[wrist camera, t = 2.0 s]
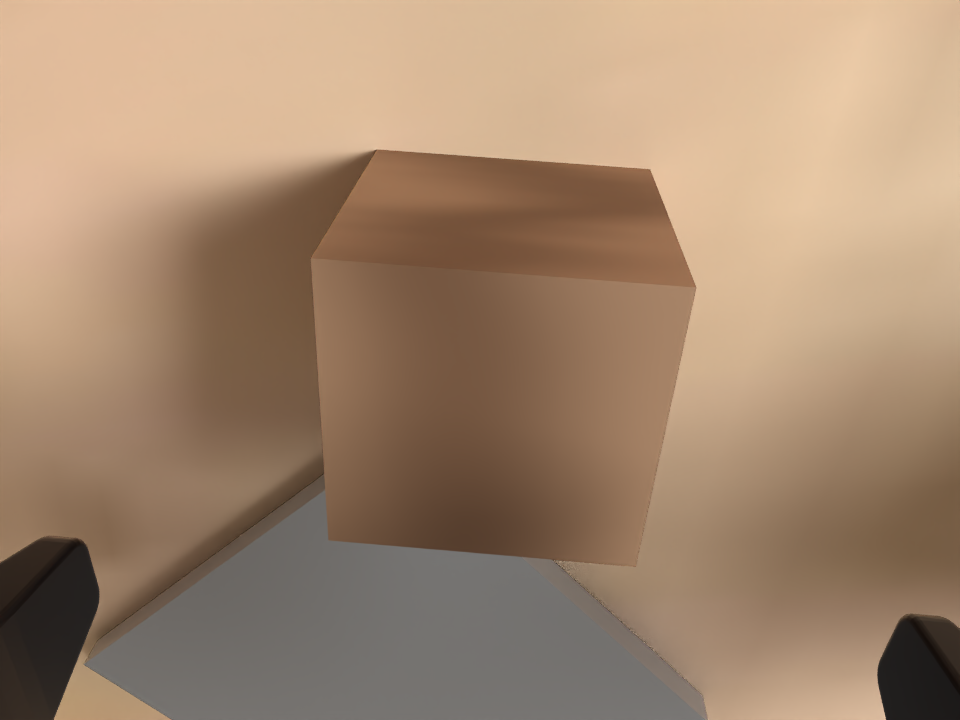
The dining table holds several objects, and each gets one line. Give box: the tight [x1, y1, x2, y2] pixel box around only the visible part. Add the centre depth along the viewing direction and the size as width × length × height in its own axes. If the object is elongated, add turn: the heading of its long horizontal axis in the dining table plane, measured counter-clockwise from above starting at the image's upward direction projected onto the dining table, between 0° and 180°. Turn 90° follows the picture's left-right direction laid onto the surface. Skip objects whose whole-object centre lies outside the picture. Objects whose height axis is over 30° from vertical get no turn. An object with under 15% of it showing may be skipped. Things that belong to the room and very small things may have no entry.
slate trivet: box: [84, 474, 708, 720], centre depth 22 cm, size 12×12×1 cm
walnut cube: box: [311, 150, 696, 567], centre depth 14 cm, size 5×5×5 cm
